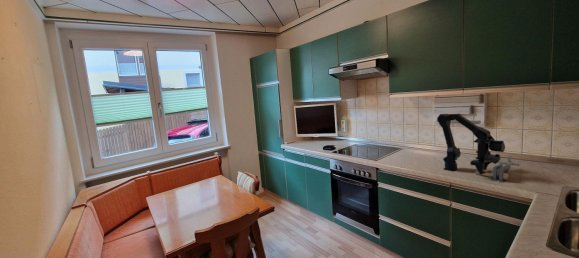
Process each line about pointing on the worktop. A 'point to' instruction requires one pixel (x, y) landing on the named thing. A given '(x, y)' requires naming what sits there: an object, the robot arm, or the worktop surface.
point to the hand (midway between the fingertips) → (482, 173)
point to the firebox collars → (500, 172)
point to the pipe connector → (509, 163)
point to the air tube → (490, 174)
